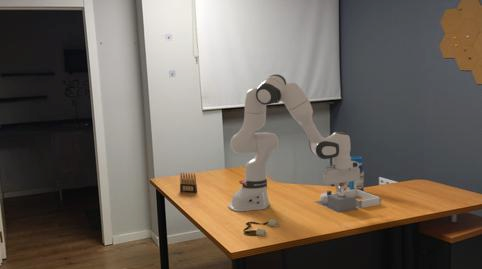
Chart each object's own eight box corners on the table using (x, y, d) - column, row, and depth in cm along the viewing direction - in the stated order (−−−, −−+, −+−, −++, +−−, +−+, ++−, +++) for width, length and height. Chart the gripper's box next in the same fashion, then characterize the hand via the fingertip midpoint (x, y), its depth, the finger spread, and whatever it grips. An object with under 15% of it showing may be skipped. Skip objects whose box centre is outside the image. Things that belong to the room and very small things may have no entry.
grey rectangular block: (338, 215, 228) (338, 200, 227) (314, 204, 248) (314, 190, 247) (358, 211, 233) (358, 197, 232) (333, 201, 253) (333, 187, 252)
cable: (233, 233, 210) (233, 226, 210) (249, 222, 224) (249, 215, 224) (265, 238, 203) (265, 230, 203) (279, 226, 218) (279, 219, 217)
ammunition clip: (180, 192, 284) (178, 172, 282) (181, 191, 285) (180, 172, 284) (196, 193, 280) (195, 173, 278) (197, 192, 282) (196, 172, 280)
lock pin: (341, 207, 234) (341, 183, 233) (338, 206, 237) (338, 182, 235) (345, 206, 235) (344, 182, 234) (342, 205, 238) (342, 181, 236)
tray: (360, 210, 235) (360, 201, 234) (336, 201, 253) (336, 192, 252) (380, 207, 240) (380, 197, 239) (356, 197, 258) (356, 189, 257)
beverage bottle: (352, 188, 277) (352, 155, 274) (366, 190, 272) (366, 156, 269) (346, 192, 270) (346, 158, 267) (360, 193, 265) (360, 159, 262)
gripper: (327, 167, 226) (327, 195, 228) (361, 162, 234) (361, 189, 236) (320, 165, 232) (320, 192, 234) (354, 160, 240) (354, 187, 242)
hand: (341, 191), depth 235 cm, fingers closed on lock pin, 2 cm apart
